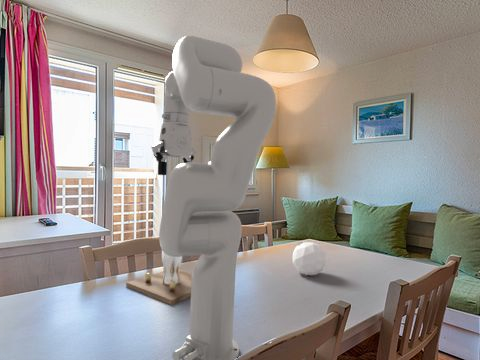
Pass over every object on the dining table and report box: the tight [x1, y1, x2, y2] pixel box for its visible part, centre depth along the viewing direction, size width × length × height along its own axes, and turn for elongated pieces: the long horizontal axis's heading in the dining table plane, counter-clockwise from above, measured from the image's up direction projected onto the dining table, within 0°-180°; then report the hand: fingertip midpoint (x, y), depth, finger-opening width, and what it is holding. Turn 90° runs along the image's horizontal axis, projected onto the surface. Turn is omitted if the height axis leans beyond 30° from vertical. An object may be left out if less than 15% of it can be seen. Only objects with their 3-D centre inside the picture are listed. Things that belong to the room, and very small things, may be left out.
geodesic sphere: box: [291, 240, 327, 276], centre depth 127 cm, size 14×14×14 cm
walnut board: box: [125, 268, 192, 306], centre depth 108 cm, size 22×22×4 cm
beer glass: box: [161, 250, 183, 286], centre depth 106 cm, size 7×7×15 cm
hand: (174, 175), depth 98 cm, fingers open, 9 cm apart
